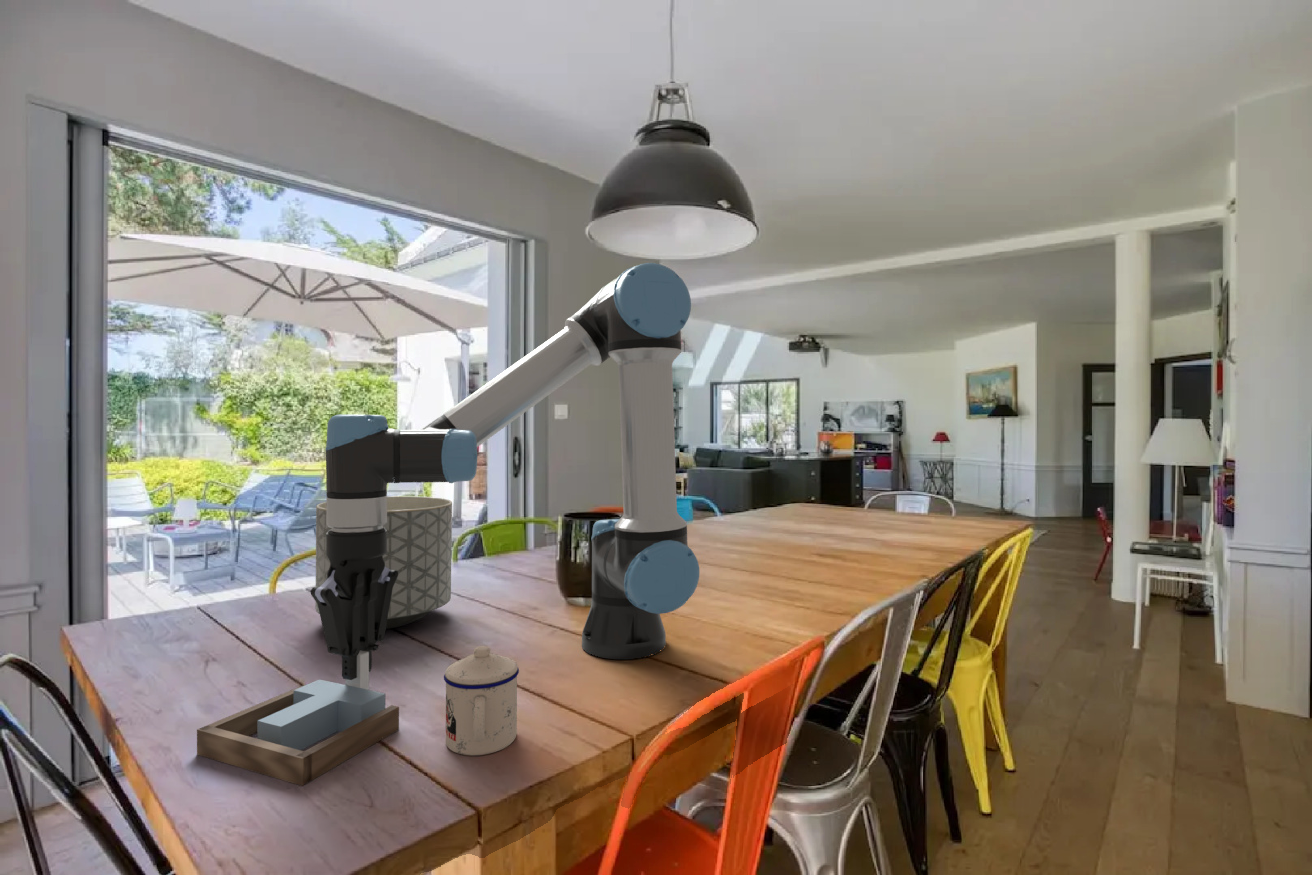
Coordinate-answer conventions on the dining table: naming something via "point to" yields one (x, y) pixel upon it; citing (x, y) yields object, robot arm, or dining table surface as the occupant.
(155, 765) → the dining table surface
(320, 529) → the planter
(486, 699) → the teacup with lid
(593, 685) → the dining table surface
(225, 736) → the frame
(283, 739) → the t block
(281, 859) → the dining table surface
